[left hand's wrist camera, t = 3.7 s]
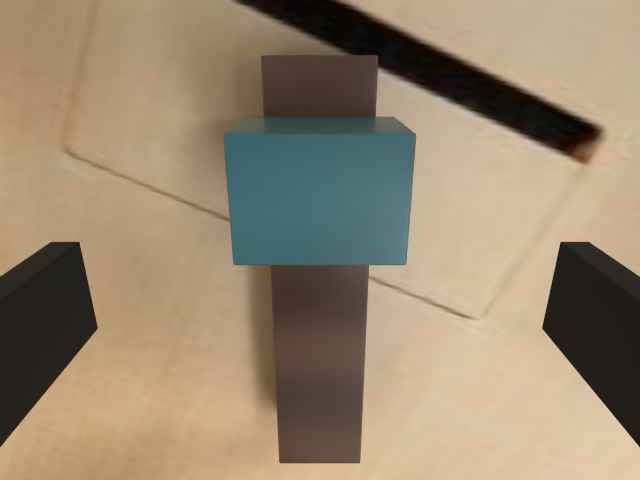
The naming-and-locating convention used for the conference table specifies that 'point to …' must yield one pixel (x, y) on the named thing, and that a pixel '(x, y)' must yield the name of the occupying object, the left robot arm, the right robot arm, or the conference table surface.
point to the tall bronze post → (319, 283)
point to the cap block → (319, 190)
